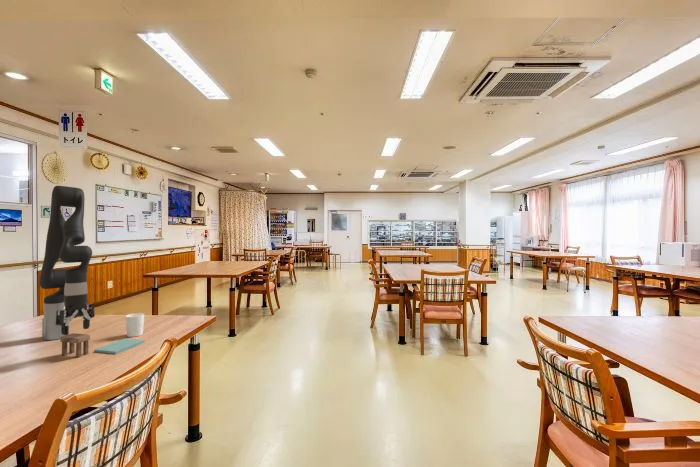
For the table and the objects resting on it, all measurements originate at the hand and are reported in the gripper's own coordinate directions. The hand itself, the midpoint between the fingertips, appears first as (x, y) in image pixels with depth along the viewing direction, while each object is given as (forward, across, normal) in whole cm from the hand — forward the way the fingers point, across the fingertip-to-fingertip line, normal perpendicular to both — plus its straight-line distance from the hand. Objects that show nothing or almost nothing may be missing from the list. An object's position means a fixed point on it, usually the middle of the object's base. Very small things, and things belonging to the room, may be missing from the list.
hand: (76, 331), depth 138 cm
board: (+10, -12, +10) cm, 18 cm away
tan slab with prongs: (+10, 0, 0) cm, 10 cm away
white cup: (+10, -28, +2) cm, 30 cm away
